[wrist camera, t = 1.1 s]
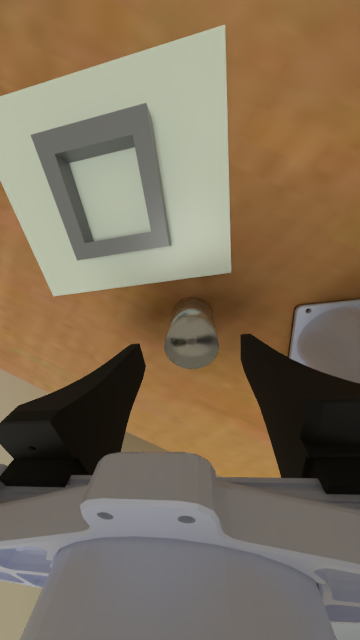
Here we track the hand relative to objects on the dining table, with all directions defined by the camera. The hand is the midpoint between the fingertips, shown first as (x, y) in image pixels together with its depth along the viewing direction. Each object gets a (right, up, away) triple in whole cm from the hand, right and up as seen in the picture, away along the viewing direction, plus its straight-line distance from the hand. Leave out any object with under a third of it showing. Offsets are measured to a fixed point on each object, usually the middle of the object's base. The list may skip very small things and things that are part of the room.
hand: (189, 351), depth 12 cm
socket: (-6, +12, +2) cm, 14 cm away
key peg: (+1, +3, +6) cm, 7 cm away
